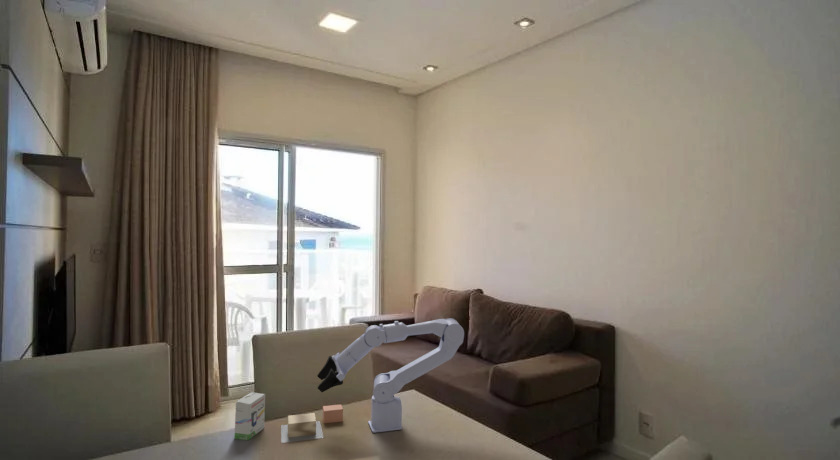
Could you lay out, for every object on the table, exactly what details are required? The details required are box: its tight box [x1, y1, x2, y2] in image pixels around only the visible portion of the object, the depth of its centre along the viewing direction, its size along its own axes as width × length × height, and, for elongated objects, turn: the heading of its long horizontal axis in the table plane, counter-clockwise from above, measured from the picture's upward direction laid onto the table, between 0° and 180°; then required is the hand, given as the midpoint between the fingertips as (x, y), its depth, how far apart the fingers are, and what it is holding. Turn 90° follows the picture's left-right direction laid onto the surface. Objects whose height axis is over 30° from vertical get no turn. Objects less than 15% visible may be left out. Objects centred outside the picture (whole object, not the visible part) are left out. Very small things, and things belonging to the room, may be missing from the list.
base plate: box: [280, 420, 324, 444], centre depth 136 cm, size 12×12×1 cm
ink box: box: [233, 391, 266, 441], centre depth 134 cm, size 9×5×12 cm, turn 168°
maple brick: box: [287, 412, 317, 437], centre depth 136 cm, size 8×6×4 cm
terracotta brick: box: [322, 404, 344, 424], centre depth 145 cm, size 6×4×5 cm, turn 108°
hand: (319, 383), depth 141 cm, fingers open, 7 cm apart
